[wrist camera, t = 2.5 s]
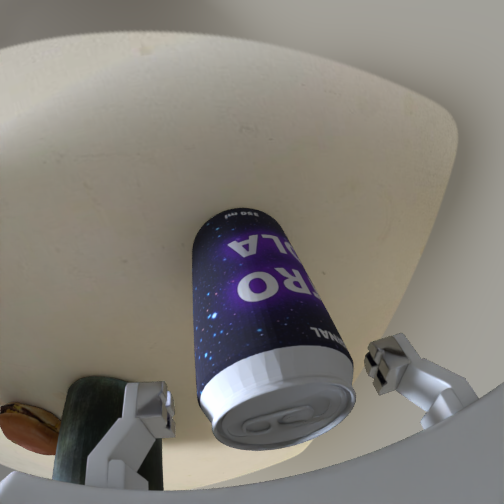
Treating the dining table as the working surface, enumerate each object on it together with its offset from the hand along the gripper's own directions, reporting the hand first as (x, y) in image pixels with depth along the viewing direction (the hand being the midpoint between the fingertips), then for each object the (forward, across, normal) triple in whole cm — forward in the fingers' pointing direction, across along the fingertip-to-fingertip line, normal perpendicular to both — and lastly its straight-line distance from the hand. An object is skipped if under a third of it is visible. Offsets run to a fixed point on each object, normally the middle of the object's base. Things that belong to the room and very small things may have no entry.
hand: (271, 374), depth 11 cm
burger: (+10, +29, +20) cm, 37 cm away
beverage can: (+10, 0, 0) cm, 10 cm away
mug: (+10, +15, +17) cm, 25 cm away
